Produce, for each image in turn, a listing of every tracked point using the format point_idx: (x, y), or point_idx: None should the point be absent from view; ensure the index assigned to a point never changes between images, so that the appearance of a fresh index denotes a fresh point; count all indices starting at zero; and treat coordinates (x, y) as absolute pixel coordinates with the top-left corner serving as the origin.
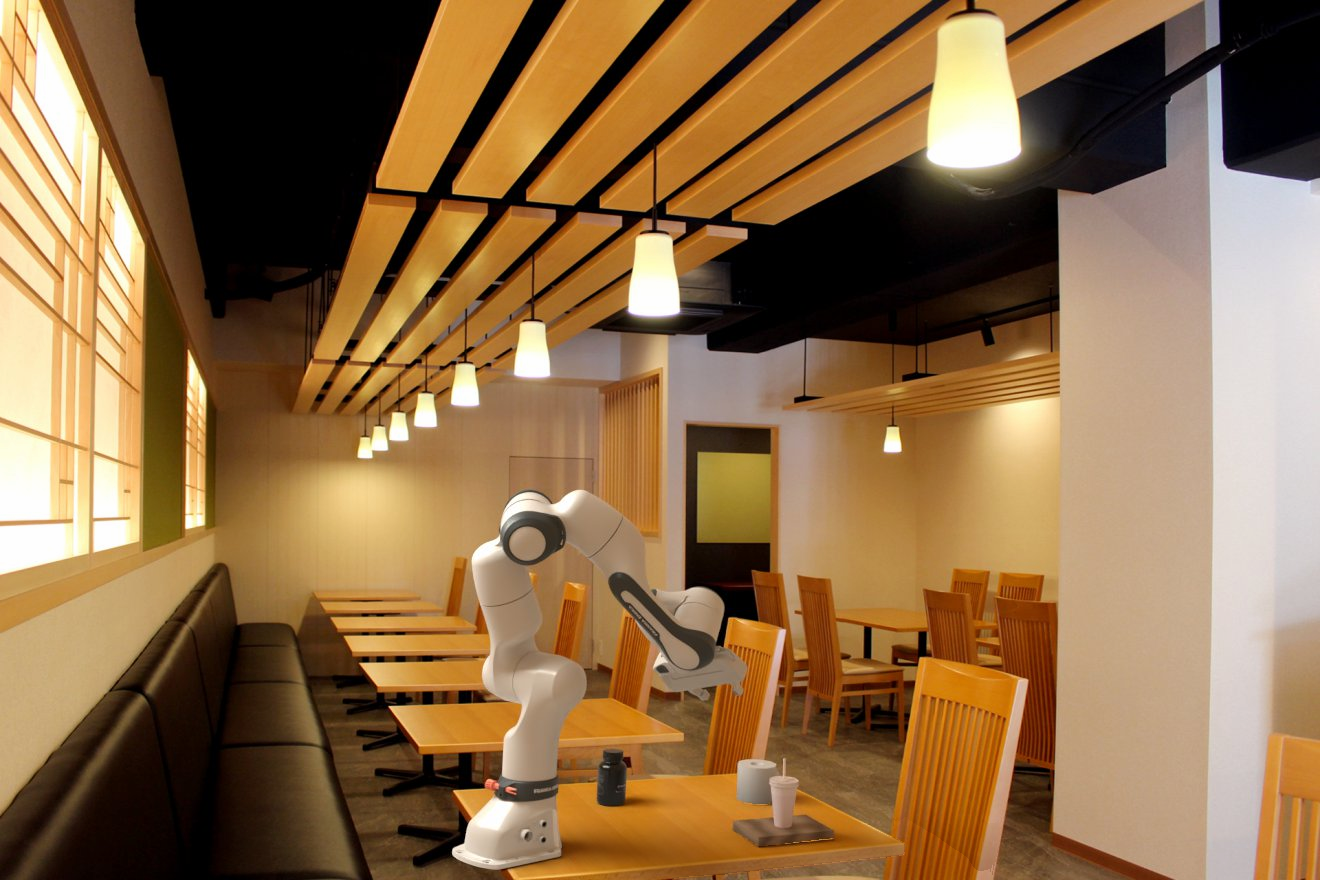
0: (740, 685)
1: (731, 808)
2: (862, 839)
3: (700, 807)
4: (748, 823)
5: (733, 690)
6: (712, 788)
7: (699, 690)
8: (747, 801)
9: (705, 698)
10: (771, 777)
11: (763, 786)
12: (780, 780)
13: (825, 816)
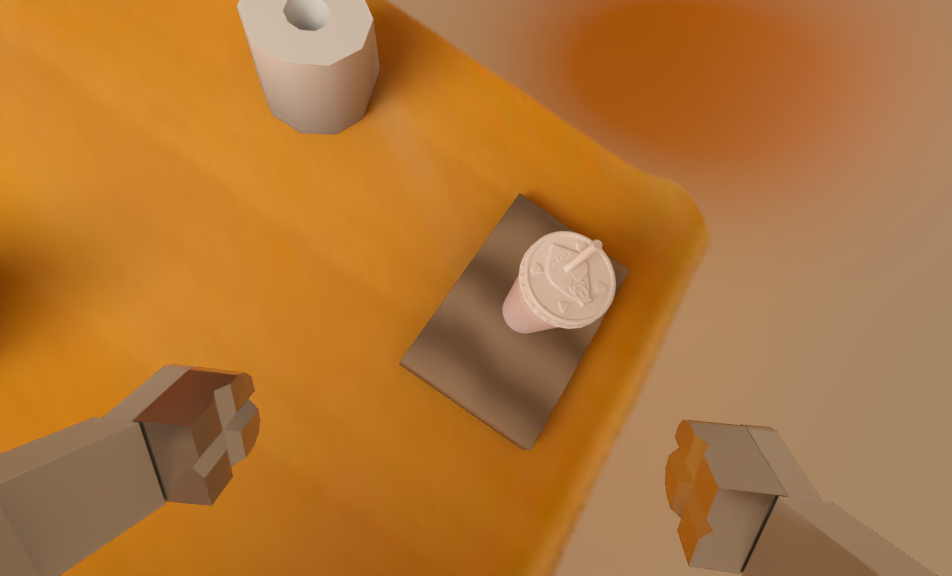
0: (805, 481)
1: (298, 191)
2: (656, 235)
3: (214, 231)
4: (447, 355)
5: (718, 564)
6: (155, 49)
7: (106, 480)
8: (315, 129)
9: (238, 459)
10: (527, 278)
11: (355, 90)
12: (570, 296)
13: (518, 126)
